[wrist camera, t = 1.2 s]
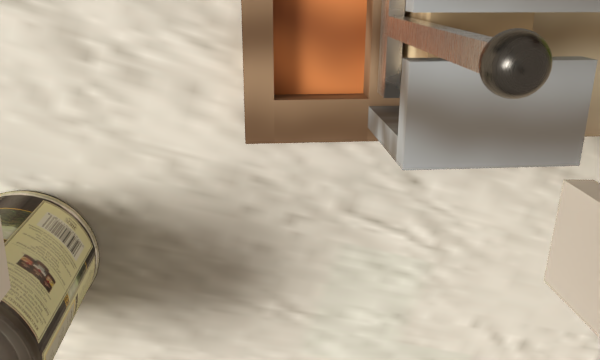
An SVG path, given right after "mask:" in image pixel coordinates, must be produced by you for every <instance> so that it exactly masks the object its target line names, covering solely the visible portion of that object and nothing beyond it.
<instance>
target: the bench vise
mask: <svg viewBox="0 0 600 360" xmlns="http://www.w3.org/2000/svg"><path fill="white" fill-rule="evenodd" d="M241 5H242V39H243V73H244V107H245V140H246V144H258V143H305V142H351V141H379V142H380V143H381V144H382V145H383V147H384V148H385V149H386V150H387V151H388V153H389V154H390V155H391V156H392V158H393V159H394V160H395V161H396V162H397V164H398V165H399V166H400V167H401V169H402V170H431V169H470V168H508V167H547V166H579V165H580V159H581V153H582V147H583V142H584V137H585V136H600V0H406V8H405V11H408V12H413V13H434V12H535V15H534V23H533V30H532V31H533V32H535V33H537V34H539V35H540V36H541V37H542V38H543V39H544V40H545V41H546V42H547V44H548V45H549V47H550V50H551V53H552V60H553V63H552V70H551V73H550V75H549V78H548V79H547V81H546V82H545V84H544V85H543V86H542V87H541V88H540V89H539V90H537V91H536V92H535V93H533V94H531V95H529V96H527V97H524V98H519V99H507V98H503V97H500V96H497V95H495V94H494V93H492V92H491V91H489V90H488V89H487V87H486V86H485V85H484V83H483V82H482V80H481V77H480V74H479V73H477V72H474V71H472V70H469V69H467V68H464V67H462V66H459V65H457V64H455V63H452V62H450V61H447V60H445V59H442V58H402V70H401V89H400V98H383V97H382V96H381V95H380V94H379V93H378V92H377V90H378V70H379V49H380V28H381V7H382V0H241Z"/></svg>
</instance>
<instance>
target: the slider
mask: <svg viewBox="0 0 600 360" xmlns="http://www.w3.org/2000/svg"><path fill="white" fill-rule="evenodd" d="M404 13H405V0H382V7H381V28H380V49H379V70H378V90H377V92H378V93H379V94H380V95H381V96H382V97H383V98H400V89H401V62H402V46H403V43H406V44H408V45H410V46H413V47H415V48H418V49H420V50H423V51H425V52H428V53H430V54H432V55H435V56H437V57H440V58H442V59H445V60H447V61H450V62H452V63H455V64H457V65H459V66H462V67H464V68H467V69H469V70H472V71H474V72H477V73H479V74H480V77H481V80H482V82H483V83H484V85H485V86H486V87H487V89H488V90H489V91H491V92H492V93H494V94H495V95H497V96H500V97H503V98H507V99H519V98H524V97H527V96H529V95H531V94H533V93H535V92H536V91H537V90H539V89H540V88H541V87H542V86H543V85H544V84H545V82H546V81H547V79H548V78H549V75H550V73H551V70H552V63H553V60H552V53H551V50H550V47H549V45H548V44H547V42H546V41H545V40H544V39H543V38H542V37H541V36H540V35H539V34H537V33H535V32H533V31H531V30H528V29H523V28H513V29H508V30H505V31H502V32H500V33H498V34H497V35H495V36H494V37H490V36H486V35H482V34H478V33H473V32H469V31H465V30H461V29H457V28H452V27H448V26H444V25H440V24H436V23H431V22H427V21H423V20H419V19H415V18H410V17H406V16H404Z"/></svg>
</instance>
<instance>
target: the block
mask: <svg viewBox="0 0 600 360" xmlns="http://www.w3.org/2000/svg"><path fill="white" fill-rule="evenodd" d="M405 8H406V0H405ZM534 15H535V12H434V13H413V12H408V11H405V13H404V16H406V17H410V18H415V19H419V20H423V21H427V22H431V23H436V24H440V25H444V26H448V27H452V28H457V29H461V30H465V31H469V32H473V33H478V34H482V35H486V36H490V37H494V36H495V35H497V34H498V33H500V32H502V31H505V30H508V29H513V28H523V29H528V30H531V31H532V30H533V23H534ZM402 58H440V57H437V56H435V55H432V54H430V53H428V52H425V51H423V50H420V49H418V48H415V47H413V46H410V45H408V44H406V43H403V46H402ZM401 70H402V62H401Z"/></svg>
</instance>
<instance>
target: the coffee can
mask: <svg viewBox="0 0 600 360" xmlns="http://www.w3.org/2000/svg"><path fill="white" fill-rule="evenodd" d="M0 218H1V225H2V232H3V238H4V245H5V252H6V259H7V265H8V272H9V279H10V286H11V288H10V290H9V291H8V292H7V294H6V295H5V296H4V298H3V299H2V300H1V302H0V360H53V358H54V356H55V354H56V352H57V350H58V348H59V346H60V344H61V342H62V340H63V338H64V336H65V334H66V332H67V330H68V328H69V326H70V324H71V322H72V320H73V318H74V316H75V314H76V312H77V310H78V308H79V306H80V304H81V302H82V300H83V298H84V296H85V294H86V292H87V290H88V288H89V287H90V286H91V284H92V282H93V280H94V278H95V276H96V274H97V269H98V265H99V251H98V245H97V242H96V239H95V236H94V234H93V232H92V229H91V228H90V227H89V225H88V224H87V223H86V221H85V220H84V219H83V218H82V217H81V216H80V215H79V214H78V213H77V212H76V211H75V210H74V209H73V208H71V207H70V206H69V205H67V204H65V203H64V202H62V201H60V200H58V199H56V198H53V197H51V196H49V195H45V194H41V193H37V192H31V191H12V192H5V193H1V194H0Z"/></svg>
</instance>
